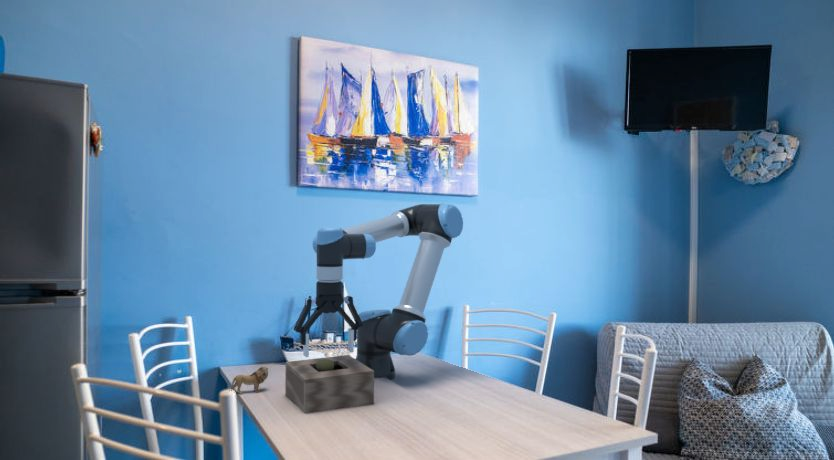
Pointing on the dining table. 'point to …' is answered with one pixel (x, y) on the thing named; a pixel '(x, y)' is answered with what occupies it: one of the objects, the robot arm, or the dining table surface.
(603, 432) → the dining table surface
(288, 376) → the walnut box
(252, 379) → the lion figurine
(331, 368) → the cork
